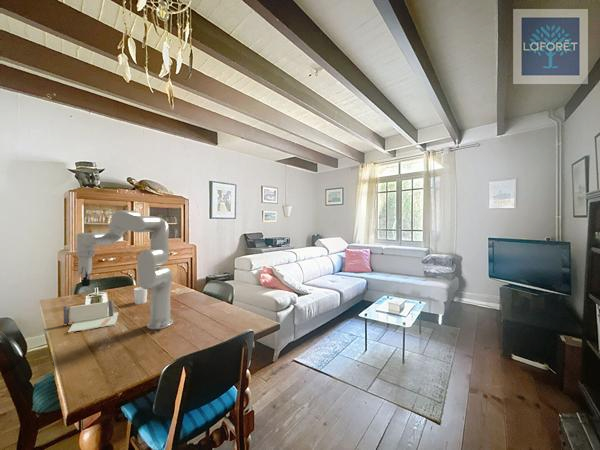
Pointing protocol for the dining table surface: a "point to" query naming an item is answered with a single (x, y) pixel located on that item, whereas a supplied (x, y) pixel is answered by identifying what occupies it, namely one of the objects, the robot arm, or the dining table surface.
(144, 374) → the dining table surface
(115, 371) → the dining table surface
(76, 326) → the frame
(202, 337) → the dining table surface
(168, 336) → the dining table surface
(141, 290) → the white cup
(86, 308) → the white flat panel
